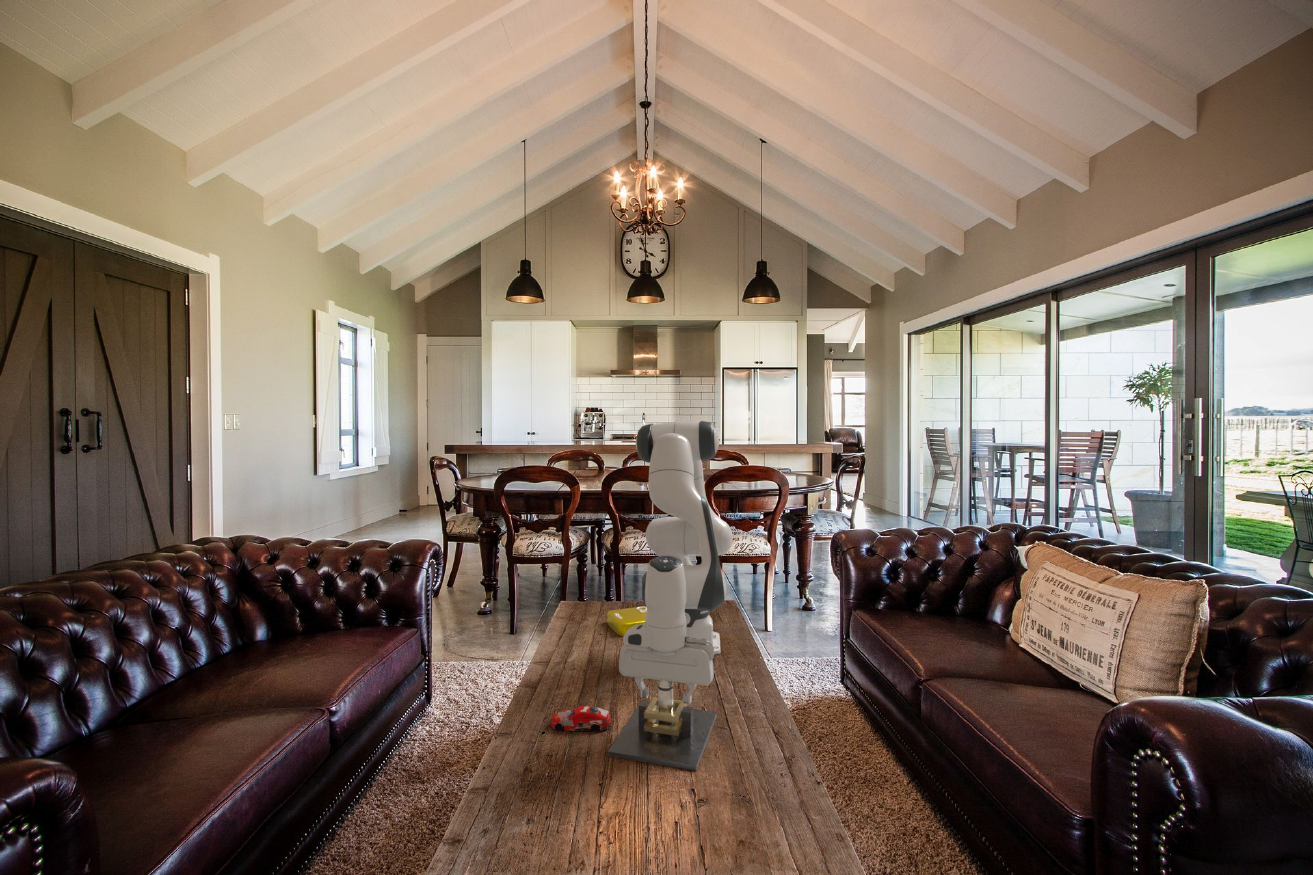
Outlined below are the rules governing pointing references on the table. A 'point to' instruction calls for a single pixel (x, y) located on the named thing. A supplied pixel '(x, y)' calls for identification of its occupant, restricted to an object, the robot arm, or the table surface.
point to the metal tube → (665, 699)
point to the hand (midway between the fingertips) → (665, 699)
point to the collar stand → (665, 735)
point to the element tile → (626, 618)
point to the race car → (581, 719)
